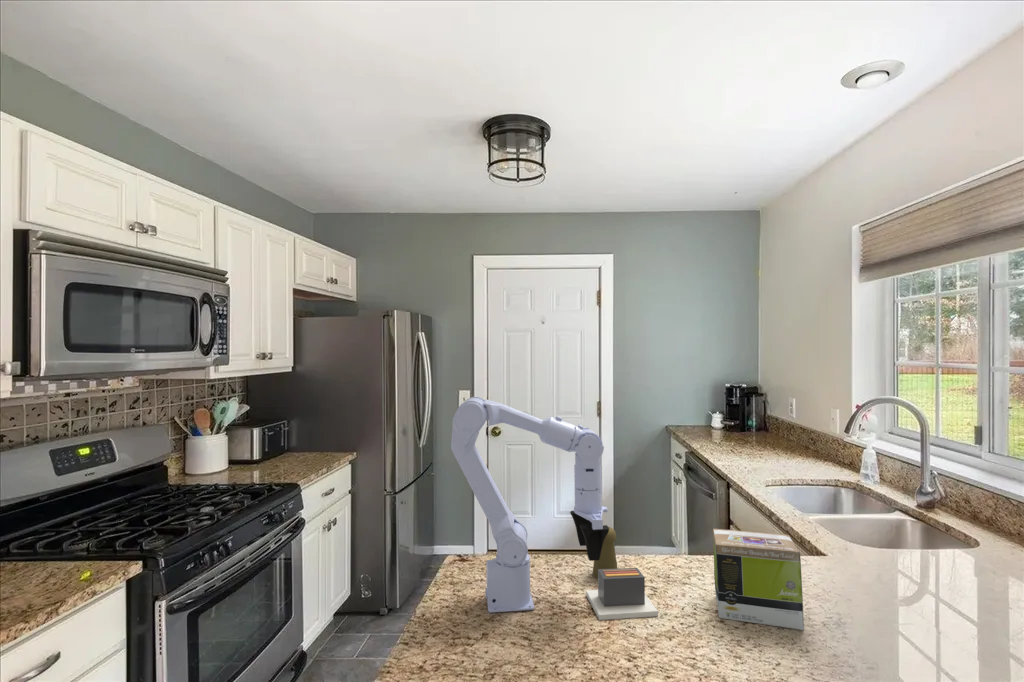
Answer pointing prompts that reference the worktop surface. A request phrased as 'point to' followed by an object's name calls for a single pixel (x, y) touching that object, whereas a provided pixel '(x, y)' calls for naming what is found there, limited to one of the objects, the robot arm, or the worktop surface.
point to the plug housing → (621, 587)
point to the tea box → (758, 578)
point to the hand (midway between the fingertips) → (589, 552)
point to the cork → (606, 554)
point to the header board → (620, 608)
